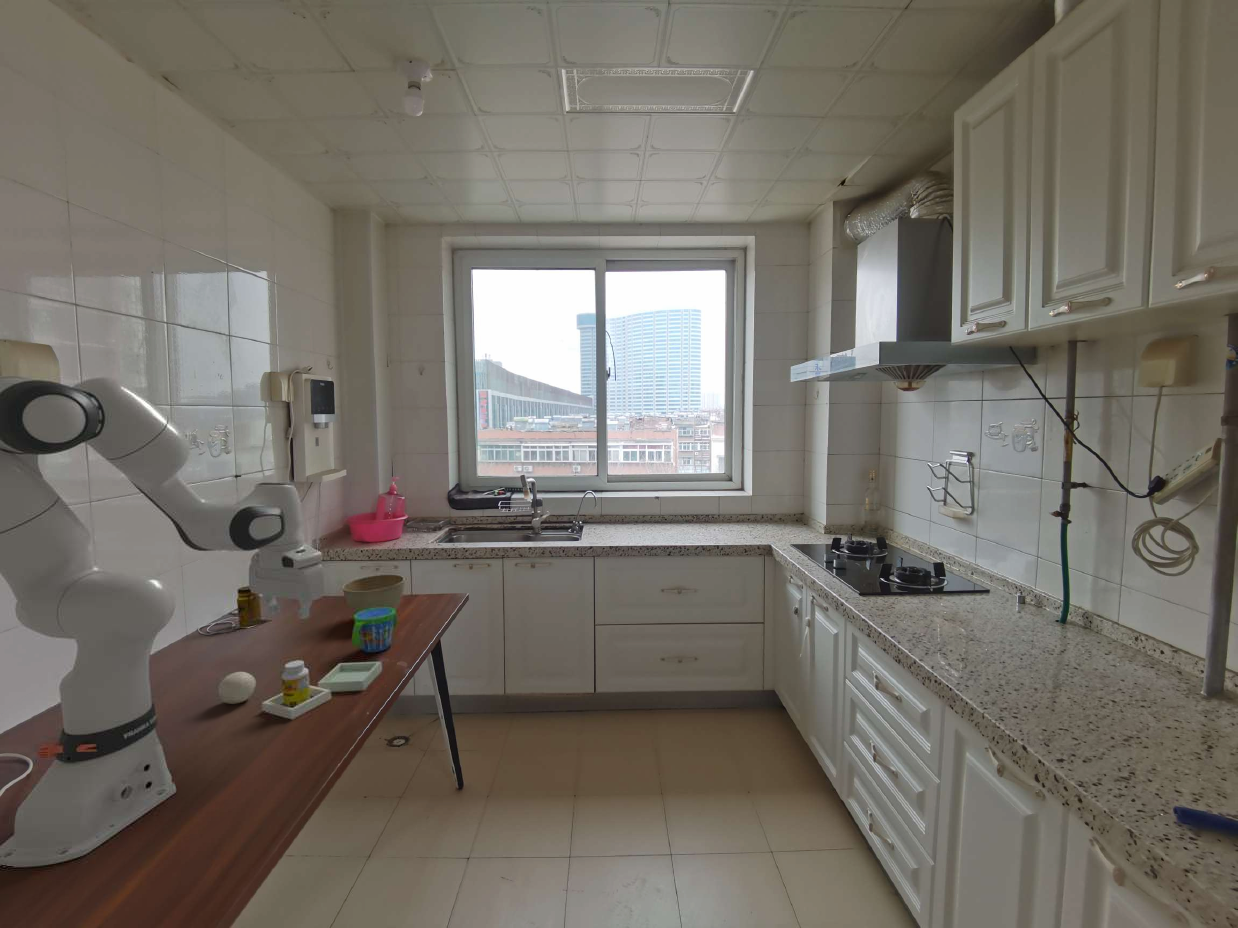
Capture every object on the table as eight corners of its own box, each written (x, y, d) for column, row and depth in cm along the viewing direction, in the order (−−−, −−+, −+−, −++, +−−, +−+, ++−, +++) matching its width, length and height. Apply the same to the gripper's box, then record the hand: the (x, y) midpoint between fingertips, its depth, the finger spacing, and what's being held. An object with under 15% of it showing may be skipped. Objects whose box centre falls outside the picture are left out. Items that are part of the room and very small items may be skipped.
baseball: (264, 694, 132) (262, 667, 131) (236, 710, 125) (233, 681, 124) (242, 692, 134) (239, 664, 133) (212, 707, 127) (209, 678, 126)
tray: (363, 690, 132) (363, 680, 132) (318, 692, 132) (317, 682, 132) (382, 670, 143) (381, 661, 143) (340, 671, 143) (339, 663, 143)
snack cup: (384, 635, 167) (382, 602, 166) (412, 640, 163) (409, 605, 162) (339, 656, 152) (336, 620, 152) (368, 662, 148) (365, 624, 147)
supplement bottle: (279, 707, 126) (275, 666, 125) (302, 697, 130) (298, 656, 129) (293, 712, 123) (289, 670, 122) (315, 702, 127) (312, 661, 127)
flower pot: (350, 614, 187) (347, 578, 186) (408, 606, 193) (405, 572, 192) (341, 633, 170) (338, 593, 169) (404, 624, 175) (402, 586, 174)
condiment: (232, 626, 179) (229, 589, 178) (257, 617, 187) (254, 582, 186) (249, 628, 177) (245, 591, 176) (273, 619, 184) (270, 583, 184)
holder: (331, 698, 129) (330, 690, 129) (292, 719, 120) (291, 710, 120) (302, 691, 133) (302, 683, 133) (262, 711, 124) (262, 702, 124)
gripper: (237, 555, 125) (244, 615, 127) (301, 561, 117) (308, 625, 119) (264, 548, 131) (270, 605, 132) (327, 553, 123) (333, 615, 124)
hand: (289, 615), depth 125 cm, fingers open, 8 cm apart
